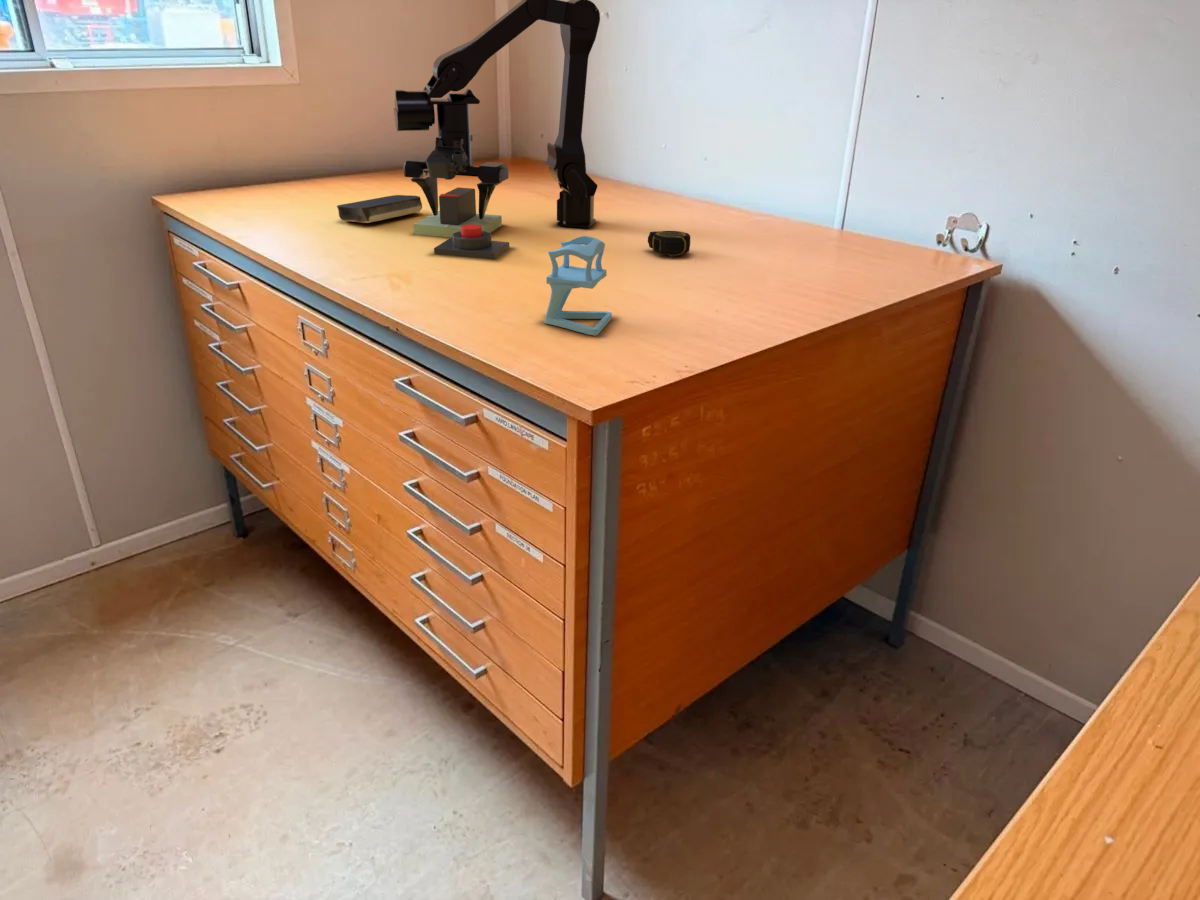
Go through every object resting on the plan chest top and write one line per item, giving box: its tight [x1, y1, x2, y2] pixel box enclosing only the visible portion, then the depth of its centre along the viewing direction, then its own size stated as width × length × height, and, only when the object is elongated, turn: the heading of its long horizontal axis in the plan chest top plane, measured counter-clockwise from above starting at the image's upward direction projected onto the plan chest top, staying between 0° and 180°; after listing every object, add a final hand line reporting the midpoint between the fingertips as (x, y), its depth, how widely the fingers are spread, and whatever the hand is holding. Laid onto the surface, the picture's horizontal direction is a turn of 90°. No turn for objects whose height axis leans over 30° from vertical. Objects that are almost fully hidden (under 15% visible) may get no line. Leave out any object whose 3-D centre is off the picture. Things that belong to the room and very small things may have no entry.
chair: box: [544, 235, 613, 337], centre depth 118 cm, size 8×8×12 cm
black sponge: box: [336, 194, 423, 224], centre depth 173 cm, size 16×8×4 cm, turn 143°
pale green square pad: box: [413, 210, 503, 238], centre depth 166 cm, size 13×13×2 cm
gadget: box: [438, 186, 477, 225], centre depth 164 cm, size 9×4×5 cm, turn 166°
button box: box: [433, 231, 511, 261], centre depth 152 cm, size 11×8×3 cm
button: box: [461, 224, 482, 238], centre depth 151 cm, size 4×4×2 cm
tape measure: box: [647, 230, 691, 257], centre depth 154 cm, size 7×7×4 cm
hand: (458, 217), depth 165 cm, fingers open, 9 cm apart
